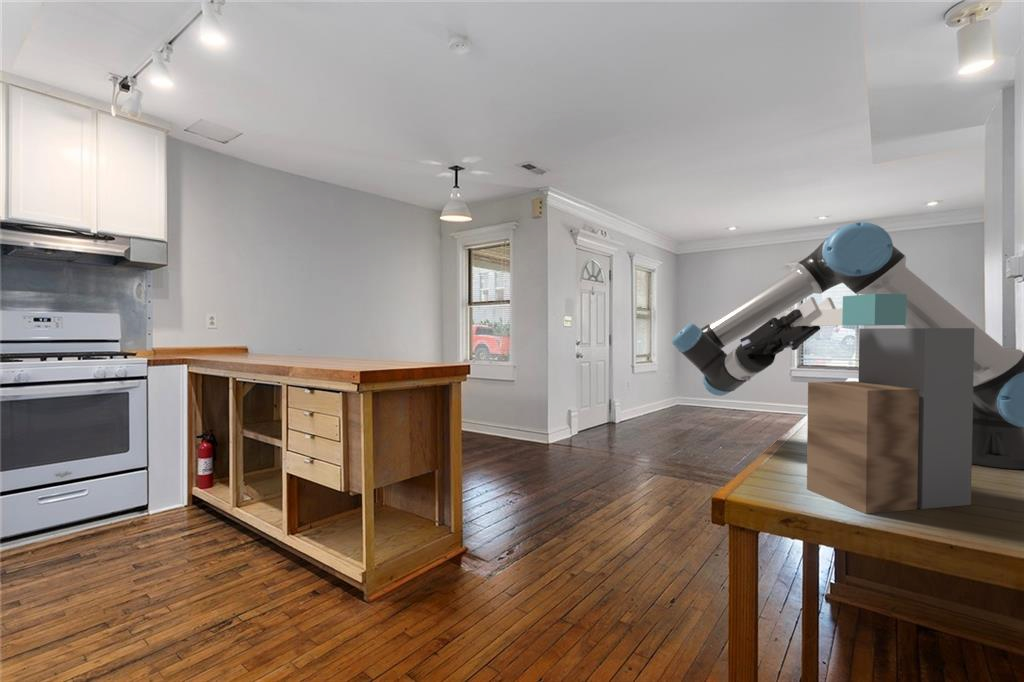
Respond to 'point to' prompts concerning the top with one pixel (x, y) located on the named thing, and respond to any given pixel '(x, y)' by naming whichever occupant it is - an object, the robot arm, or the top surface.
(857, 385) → the tall wooden pillar
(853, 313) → the bar
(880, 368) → the tower
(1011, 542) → the top surface
